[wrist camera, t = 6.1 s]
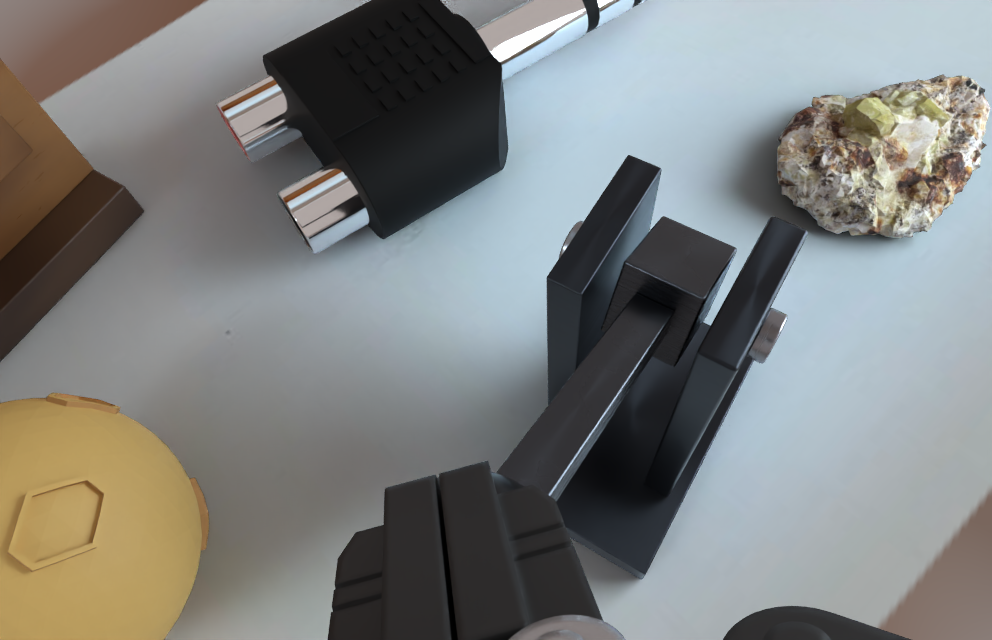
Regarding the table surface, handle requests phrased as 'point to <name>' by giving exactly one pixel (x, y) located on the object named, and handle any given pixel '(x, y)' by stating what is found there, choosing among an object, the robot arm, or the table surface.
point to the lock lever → (623, 350)
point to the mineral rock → (884, 155)
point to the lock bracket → (652, 372)
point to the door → (47, 212)
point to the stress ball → (92, 524)
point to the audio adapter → (397, 106)
